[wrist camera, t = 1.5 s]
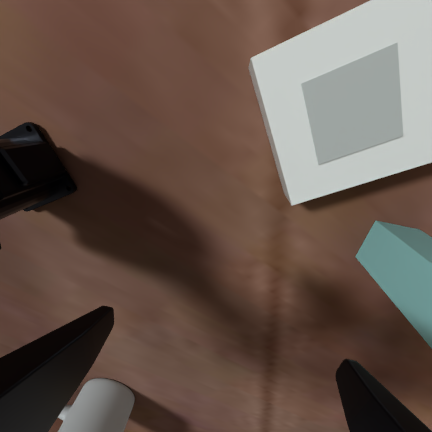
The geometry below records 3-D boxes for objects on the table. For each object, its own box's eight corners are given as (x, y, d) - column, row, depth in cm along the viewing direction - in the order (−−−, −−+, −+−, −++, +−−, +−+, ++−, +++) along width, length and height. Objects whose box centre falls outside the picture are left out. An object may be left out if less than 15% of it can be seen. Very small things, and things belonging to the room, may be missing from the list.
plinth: (284, 192, 19) (291, 206, 17) (248, 67, 16) (250, 57, 13) (412, 151, 17) (446, 158, 14) (404, -6, 14) (448, -38, 11)
